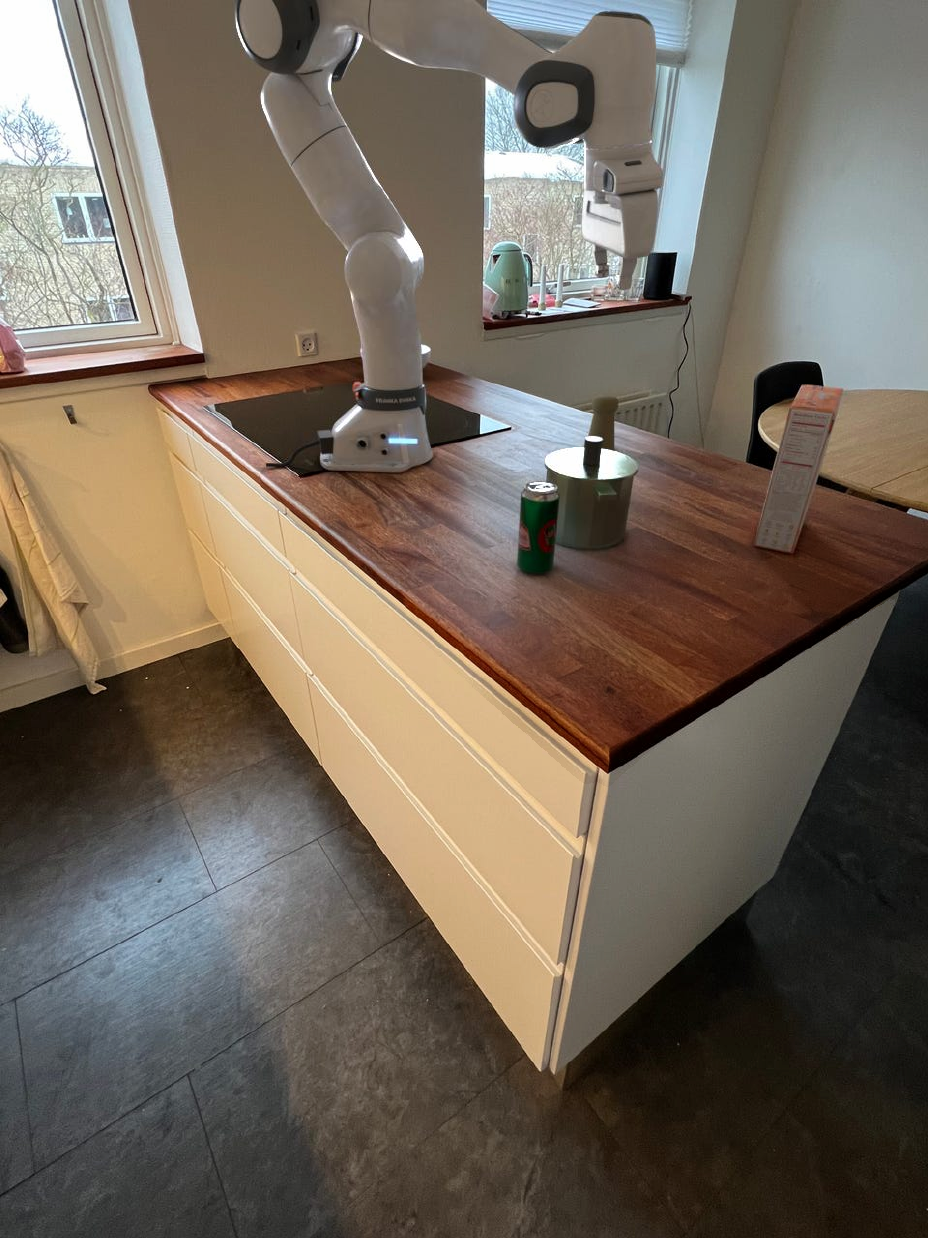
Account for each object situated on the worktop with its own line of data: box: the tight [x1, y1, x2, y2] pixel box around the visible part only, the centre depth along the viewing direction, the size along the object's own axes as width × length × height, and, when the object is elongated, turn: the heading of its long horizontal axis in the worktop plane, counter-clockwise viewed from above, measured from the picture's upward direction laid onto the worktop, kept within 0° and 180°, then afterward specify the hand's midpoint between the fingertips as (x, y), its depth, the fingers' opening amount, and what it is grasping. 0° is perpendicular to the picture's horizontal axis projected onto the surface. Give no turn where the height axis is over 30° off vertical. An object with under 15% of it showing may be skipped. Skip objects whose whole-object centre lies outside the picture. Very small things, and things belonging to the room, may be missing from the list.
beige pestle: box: [587, 393, 619, 451], centre depth 129 cm, size 6×6×11 cm
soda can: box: [516, 480, 560, 576], centre depth 86 cm, size 5×5×12 cm
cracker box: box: [752, 384, 844, 555], centre depth 93 cm, size 14×6×21 cm, turn 150°
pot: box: [545, 469, 635, 550], centre depth 96 cm, size 13×18×10 cm
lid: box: [544, 436, 639, 483], centre depth 92 cm, size 14×14×5 cm
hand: (612, 282), depth 96 cm, fingers open, 8 cm apart
